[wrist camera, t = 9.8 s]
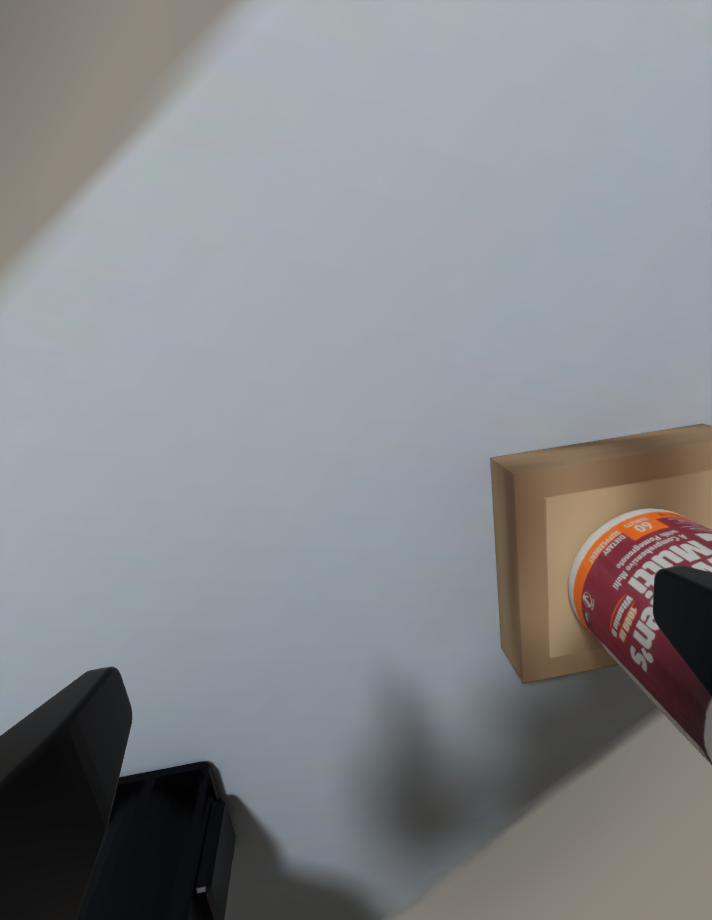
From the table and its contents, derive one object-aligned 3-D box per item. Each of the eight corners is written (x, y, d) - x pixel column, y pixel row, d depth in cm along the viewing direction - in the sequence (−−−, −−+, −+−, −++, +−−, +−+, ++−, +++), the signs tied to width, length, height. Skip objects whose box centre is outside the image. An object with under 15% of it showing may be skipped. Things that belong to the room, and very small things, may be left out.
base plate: (501, 647, 24) (524, 685, 21) (490, 457, 21) (515, 475, 19) (688, 612, 25) (733, 645, 22) (702, 423, 22) (755, 436, 19)
